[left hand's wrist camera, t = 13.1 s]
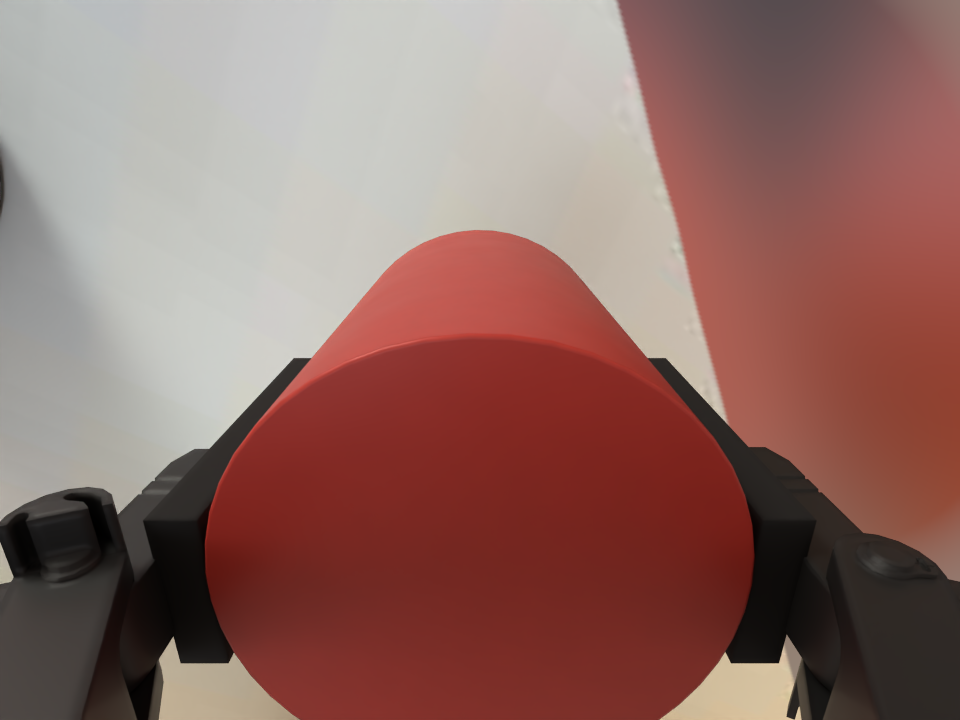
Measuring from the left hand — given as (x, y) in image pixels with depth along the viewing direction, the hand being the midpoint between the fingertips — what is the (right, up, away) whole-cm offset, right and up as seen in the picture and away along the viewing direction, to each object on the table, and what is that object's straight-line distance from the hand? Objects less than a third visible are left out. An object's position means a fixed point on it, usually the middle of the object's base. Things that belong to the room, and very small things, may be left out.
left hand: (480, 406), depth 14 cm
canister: (0, +1, +3) cm, 4 cm away
